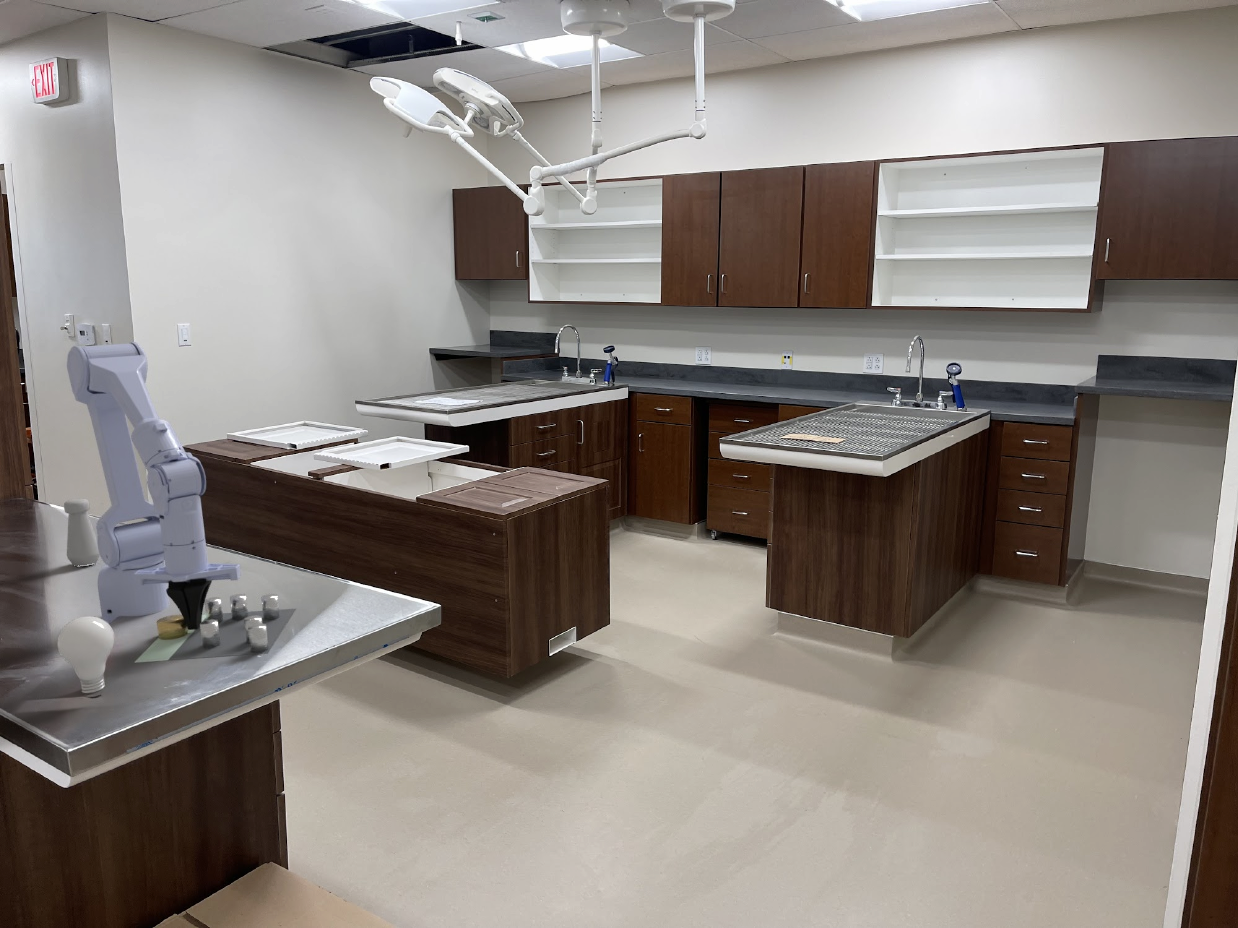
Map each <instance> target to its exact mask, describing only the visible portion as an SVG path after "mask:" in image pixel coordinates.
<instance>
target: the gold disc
mask: <svg viewBox="0 0 1238 928" xmlns="http://www.w3.org/2000/svg"><path fill="white" fill-rule="evenodd" d="M156 626H157V635H158V638H159V639H162V640H172V639H177V638H181V637H183V636H185V635H187V634H188V628H187V625H186V623H185V620H184V618H183V616H182V614H174V615H173V614H171V615H167V616H164V617H161V618H159V619H158V620H157V621H156Z"/></svg>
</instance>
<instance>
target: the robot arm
mask: <svg viewBox="0 0 1238 928" xmlns="http://www.w3.org/2000/svg"><path fill="white" fill-rule="evenodd" d="M66 359H67V360H66V361H67V362H66V370H67V374H68V378H69V383H70V386H71V391H72V394H73V395H74V399H75V401H76V402H79V403H82V404H84V405H86V406H87V410H88V413H89V416H90V420H91V424H92V428H93V432H94V437H95V441H96V444H97V449H98V454H99V456H100V457H99V458H100V462H101V465H102V467H101V468H102V470H103V475H104V478H105V480H104V481H105V482H106V487H107V491H108V496H109V500H110V501H109V502H110V504H111V505H110V507H109V508H108V509H107V510H106V511H105V512H104V513H103V514H102V516H101V517H99V518H98V520H97V521H96V525H95V529H96V538H97V545H98V550H99V554H100V556H99V557H100V558H101V561H102V562H103V563H104V564H105V565H103V566H102V567H101V568H100V570H99V572H98V576H97V592H98V597H99V598H98V599H99V604H100V605H99V606H100V611H101V619H103V620H104V621H106V622H107V623H108V624H109V625H110V624H111V623H112V622H113V621H114V620H116V619H117V618H118V617H143V616H149V615H153V614H156V613H159V612H162V611H164V610H166V609H168V608H169V607H170V603H171V602H170V600H171V601H172V602H173V603H174V604H175V606H176V607H177V608H178V610H179V612H180V613H181V614H180V615H182V616H183V618H184V620H185V623H186V625H187V628H188V630H195V629H198V628H199V627H200V623H201V621H202V615H203V611H204V607H205V604H204V602H205V600H206V598H207V596H208V595H207V594H208V592H209V590H210V587H211V584H212V582H213V581H221V580H222V581H223V580H230V581H238V580H239V579H240V578H241V577H242V570H241V564H239V563H237V564H236V563H235V564H234V563H233V564H228V563H225V564H224V563H211V562H209V561H208V552H207V544H206V542H207V541H206V534H205V527H204V526H205V525H204V519H203V516H204V515H203V510H202V509H203V508H202V501H201V500H202V499H201V496H202V495H204V494H205V492H206V490H207V480H206V479H207V477H206V473H205V469H204V467H203V465H202V463H201V461H200V459H198V457H195V456H193V455H192V453H191V452H186V450H185V449H184V447H183V445H182V443H181V442H180V439H179V437H178V436H177V433H176V432H175V430H174V429H173V427H172V425H171V423H170V422H169V421H168V420H166V419H161V418H159V416H158V414H157V411H156V408H155V406H154V402H153V401H152V398H151V396H150V393H149V391H148V388H147V386H146V385H147V384H146V383H147V377H148V370H149V369H148V360H147V355H146V353H145V350H144V348H143V347H142V346H141V345H140V344H139V343H138V342H136V341H132V342H131V341H130V342H128V343H112V344H101V345H85V346H82V345H81V346H80V345H73V346H72V347H71V348H70V349H69V351H68V353H67V357H66ZM127 419H128V420H127ZM128 421H129V422H130V424H131V425H132V427H133V428H134V429H133V431H132V433H130V432H131V431H130V429H129V424H128ZM134 448H135V449H136V451H137V453H138V455H139V458H140V459H141V461H142V464H143V465H144V467H145V469H146V471H147V475H146V478H147V479H146V484H147V489H148V492H149V494H150V498H151V499H152V503H151V502H150V501H148V500H146V497H145V496H146V495H145V492H144V489H143V488H144V487H143V484H142V481H141V476H140V472H139V466H138V461H137V458H136V455H135V454H136V453H135V449H134ZM138 519H144V520H142V521H137V522H133V523H129V524H128V523H127V524H123V525H118V524H120V523H125V522H130V521H134V520H138ZM117 525H118V526H117Z"/></svg>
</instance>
